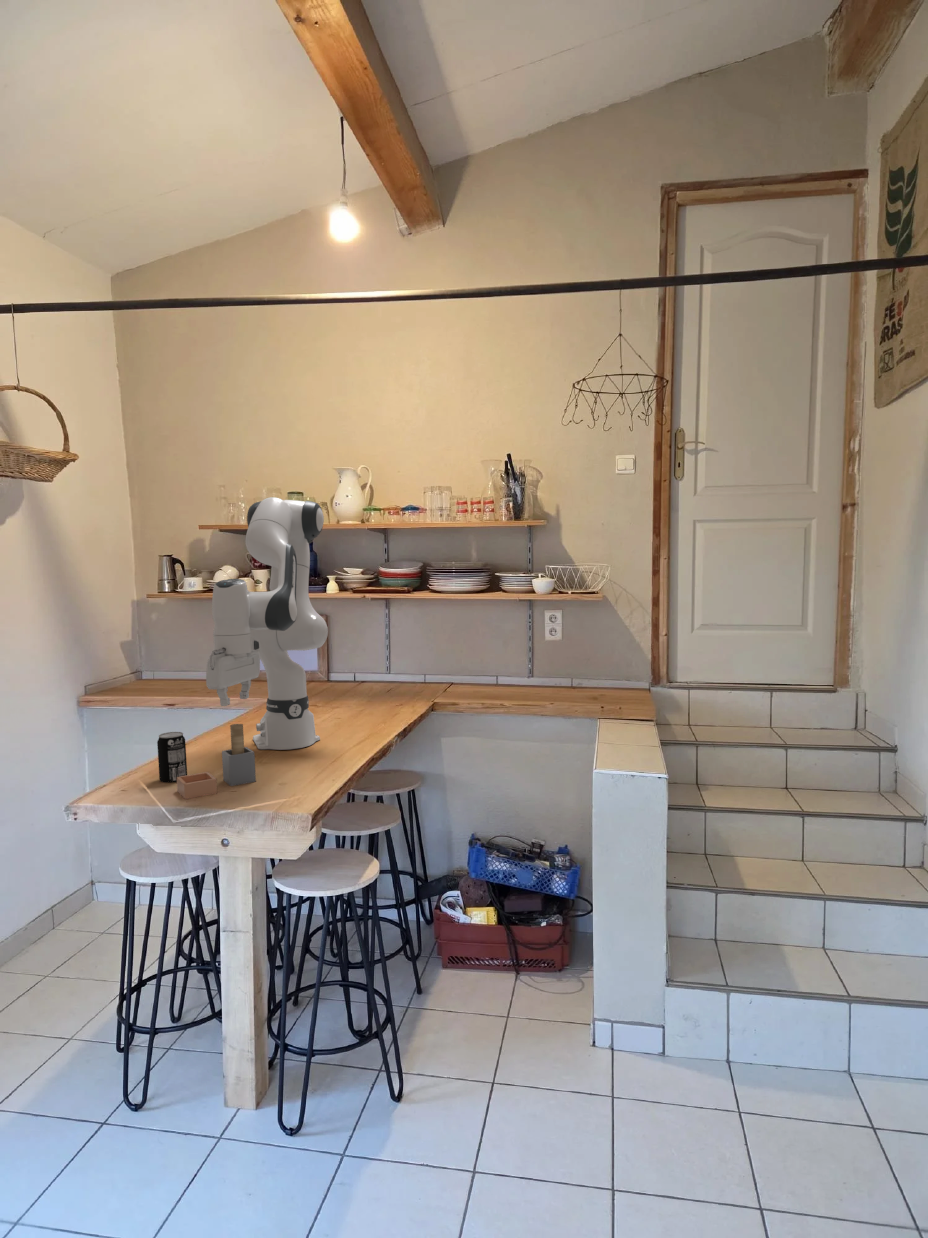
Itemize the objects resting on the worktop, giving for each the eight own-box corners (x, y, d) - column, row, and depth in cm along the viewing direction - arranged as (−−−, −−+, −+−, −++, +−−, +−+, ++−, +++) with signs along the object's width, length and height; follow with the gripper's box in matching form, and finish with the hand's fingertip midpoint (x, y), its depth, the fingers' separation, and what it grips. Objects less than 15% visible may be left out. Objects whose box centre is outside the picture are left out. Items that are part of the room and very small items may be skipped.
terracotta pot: (177, 793, 188) (176, 777, 188) (208, 787, 192) (208, 771, 192) (184, 801, 182) (184, 784, 181) (217, 795, 186) (216, 778, 185)
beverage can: (166, 777, 202) (163, 731, 201) (191, 777, 202) (188, 731, 201) (155, 785, 195) (152, 737, 194) (181, 785, 195) (178, 737, 194)
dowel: (231, 780, 196) (228, 724, 194) (243, 778, 197) (240, 723, 196) (235, 783, 193) (232, 727, 192) (247, 781, 195) (244, 725, 194)
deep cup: (223, 782, 196) (221, 750, 196) (248, 778, 200) (246, 747, 199) (230, 788, 191) (229, 756, 190) (255, 783, 194) (254, 752, 194)
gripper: (222, 650, 181) (225, 710, 182) (263, 641, 201) (265, 695, 202) (197, 650, 183) (200, 709, 184) (241, 641, 203) (243, 694, 204)
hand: (235, 702), depth 193 cm, fingers open, 8 cm apart
